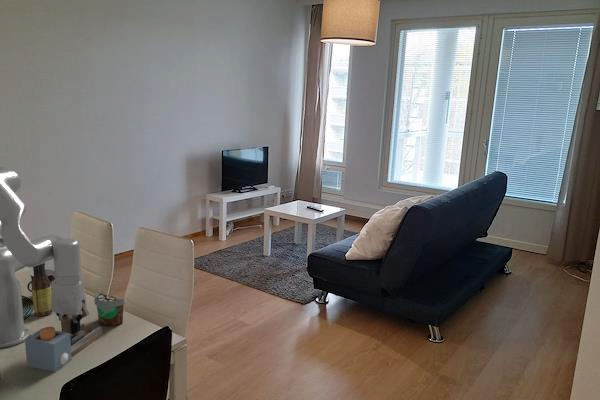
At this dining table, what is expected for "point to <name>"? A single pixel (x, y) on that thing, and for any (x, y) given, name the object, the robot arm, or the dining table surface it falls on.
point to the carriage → (67, 328)
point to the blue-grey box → (48, 351)
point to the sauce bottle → (41, 291)
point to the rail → (86, 339)
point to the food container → (109, 310)
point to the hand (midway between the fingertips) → (71, 331)
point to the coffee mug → (49, 275)
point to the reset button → (47, 333)
